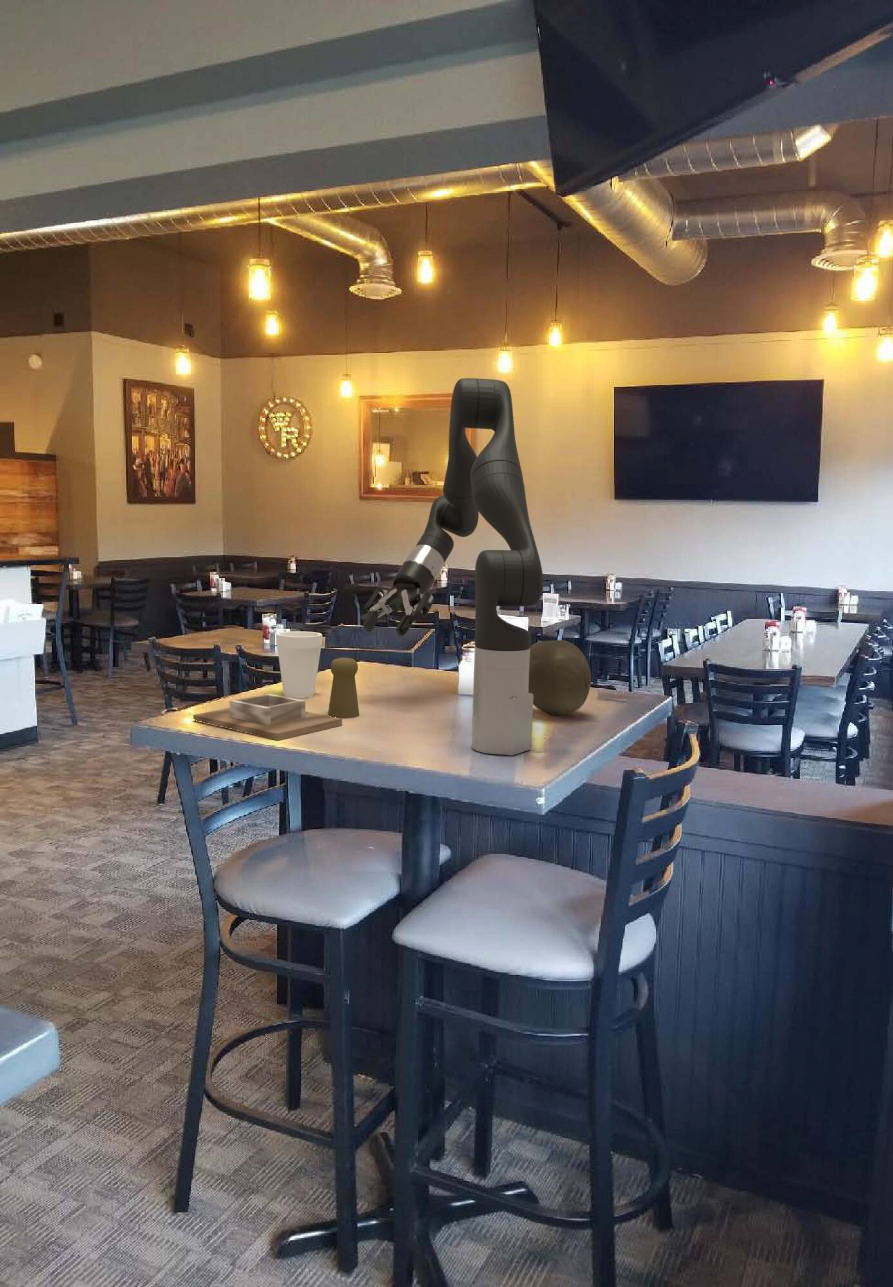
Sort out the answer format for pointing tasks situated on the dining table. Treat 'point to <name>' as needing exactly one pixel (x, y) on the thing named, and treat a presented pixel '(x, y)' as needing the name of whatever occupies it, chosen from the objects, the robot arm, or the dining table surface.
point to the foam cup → (299, 662)
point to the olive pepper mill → (343, 689)
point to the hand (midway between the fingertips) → (382, 631)
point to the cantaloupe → (558, 677)
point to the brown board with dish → (269, 717)
